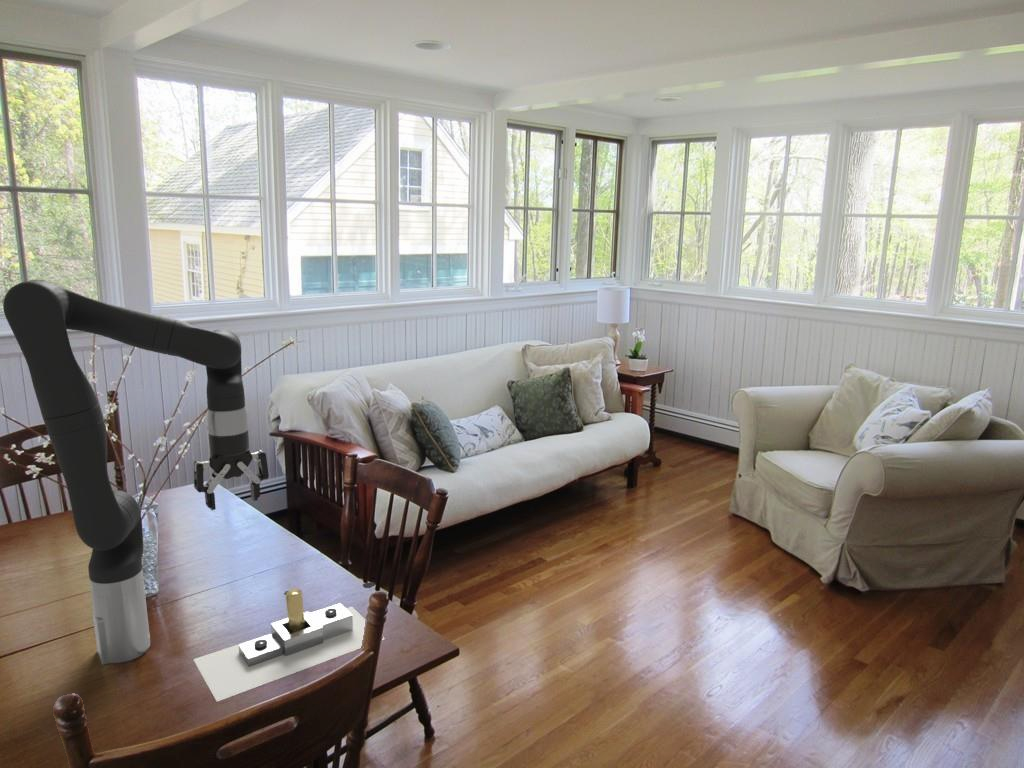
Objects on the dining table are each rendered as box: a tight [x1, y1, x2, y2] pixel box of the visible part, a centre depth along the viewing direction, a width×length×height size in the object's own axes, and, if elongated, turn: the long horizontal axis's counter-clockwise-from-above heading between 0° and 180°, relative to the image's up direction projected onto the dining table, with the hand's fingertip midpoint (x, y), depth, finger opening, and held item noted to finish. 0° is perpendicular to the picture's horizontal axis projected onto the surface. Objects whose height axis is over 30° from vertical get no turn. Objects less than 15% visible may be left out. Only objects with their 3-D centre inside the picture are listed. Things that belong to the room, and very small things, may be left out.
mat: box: [192, 606, 386, 703], centre depth 148 cm, size 34×16×1 cm, turn 127°
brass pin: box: [285, 588, 305, 634], centre depth 149 cm, size 3×3×11 cm
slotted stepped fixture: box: [237, 602, 353, 667], centre depth 150 cm, size 22×8×4 cm, turn 127°
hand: (233, 504), depth 150 cm, fingers open, 8 cm apart
